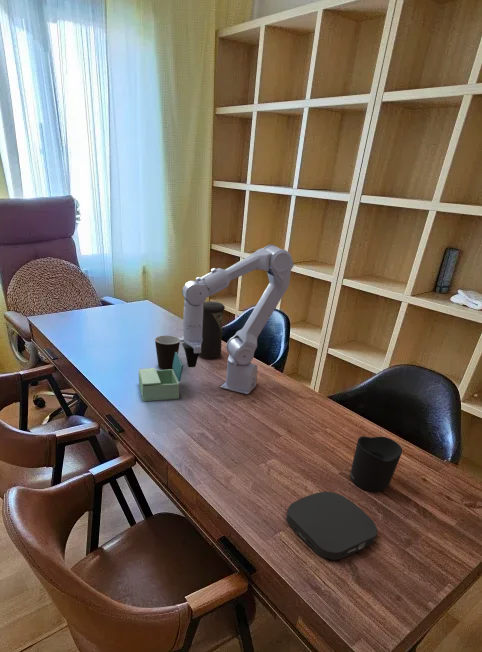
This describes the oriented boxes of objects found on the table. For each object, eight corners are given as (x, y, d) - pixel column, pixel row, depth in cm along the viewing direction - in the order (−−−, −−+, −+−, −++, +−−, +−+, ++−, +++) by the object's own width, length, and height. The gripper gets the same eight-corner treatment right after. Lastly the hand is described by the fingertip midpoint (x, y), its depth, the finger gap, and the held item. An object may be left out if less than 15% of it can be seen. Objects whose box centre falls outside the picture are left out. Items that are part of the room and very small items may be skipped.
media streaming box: (331, 495, 95) (333, 485, 93) (383, 540, 84) (387, 529, 82) (278, 515, 88) (280, 505, 87) (327, 567, 77) (330, 555, 76)
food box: (172, 383, 140) (172, 366, 137) (178, 398, 131) (179, 381, 128) (139, 385, 137) (138, 368, 134) (143, 401, 128) (142, 384, 125)
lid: (172, 367, 137) (173, 367, 137) (178, 381, 128) (179, 381, 128) (175, 351, 134) (176, 351, 134) (181, 365, 125) (183, 365, 125)
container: (221, 360, 158) (225, 307, 147) (197, 359, 158) (199, 305, 147) (221, 351, 165) (224, 300, 155) (197, 350, 165) (200, 299, 155)
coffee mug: (168, 373, 146) (168, 346, 141) (150, 366, 150) (149, 339, 145) (189, 363, 154) (190, 337, 149) (171, 357, 158) (171, 331, 153)
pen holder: (357, 463, 105) (366, 429, 100) (395, 479, 100) (407, 445, 95) (341, 481, 99) (351, 446, 94) (381, 499, 94) (394, 463, 89)
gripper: (175, 316, 130) (174, 357, 137) (184, 332, 118) (183, 377, 125) (197, 316, 132) (195, 356, 139) (209, 331, 120) (206, 375, 127)
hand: (191, 366), depth 132 cm, fingers closed
